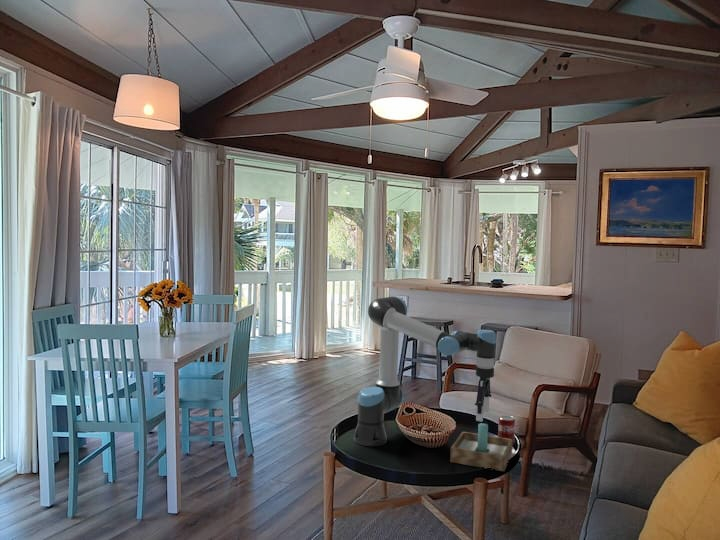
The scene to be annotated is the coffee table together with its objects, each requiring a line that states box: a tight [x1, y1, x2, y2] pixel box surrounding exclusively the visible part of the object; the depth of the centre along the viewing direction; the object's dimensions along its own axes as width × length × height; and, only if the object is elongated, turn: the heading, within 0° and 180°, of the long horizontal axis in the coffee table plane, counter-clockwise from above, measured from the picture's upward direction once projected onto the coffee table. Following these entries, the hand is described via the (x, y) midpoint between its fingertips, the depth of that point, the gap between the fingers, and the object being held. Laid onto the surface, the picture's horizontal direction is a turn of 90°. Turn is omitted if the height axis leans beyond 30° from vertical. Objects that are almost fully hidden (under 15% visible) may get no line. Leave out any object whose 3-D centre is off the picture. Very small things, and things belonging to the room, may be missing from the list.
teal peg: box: [477, 422, 489, 453], centre depth 237 cm, size 4×4×14 cm
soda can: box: [497, 415, 516, 446], centre depth 254 cm, size 7×7×12 cm
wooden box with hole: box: [449, 431, 513, 472], centre depth 237 cm, size 22×22×6 cm
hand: (482, 416), depth 237 cm, fingers open, 13 cm apart
